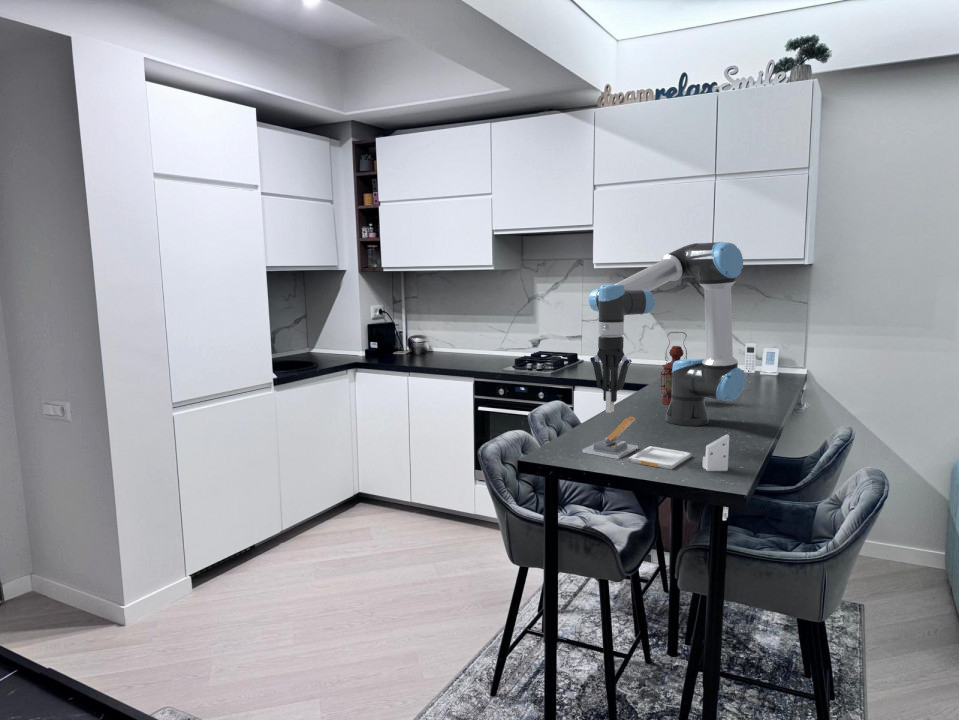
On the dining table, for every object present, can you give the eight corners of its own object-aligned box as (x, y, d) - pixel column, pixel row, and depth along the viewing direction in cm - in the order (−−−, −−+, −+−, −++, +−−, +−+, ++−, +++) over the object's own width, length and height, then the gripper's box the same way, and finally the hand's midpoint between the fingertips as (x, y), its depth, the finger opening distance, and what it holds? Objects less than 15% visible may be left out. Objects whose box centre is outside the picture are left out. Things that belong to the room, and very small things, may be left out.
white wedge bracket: (743, 462, 185) (729, 435, 184) (711, 479, 186) (697, 453, 184) (738, 458, 189) (724, 432, 188) (707, 475, 189) (693, 450, 188)
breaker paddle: (610, 437, 209) (632, 415, 203) (614, 441, 208) (636, 419, 203) (603, 440, 204) (624, 418, 199) (607, 445, 204) (629, 422, 199)
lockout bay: (649, 449, 207) (650, 446, 207) (691, 456, 199) (691, 452, 199) (627, 461, 194) (627, 457, 194) (671, 469, 186) (671, 465, 186)
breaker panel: (603, 442, 215) (603, 435, 215) (637, 448, 208) (638, 441, 208) (582, 452, 204) (582, 444, 204) (618, 458, 197) (618, 450, 197)
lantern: (687, 400, 283) (690, 330, 279) (691, 406, 271) (694, 333, 268) (658, 400, 286) (660, 330, 282) (660, 405, 274) (663, 332, 270)
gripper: (585, 335, 203) (585, 411, 206) (625, 338, 195) (624, 416, 198) (597, 333, 209) (596, 407, 212) (636, 335, 201) (634, 412, 204)
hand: (609, 411), depth 205 cm, fingers closed
